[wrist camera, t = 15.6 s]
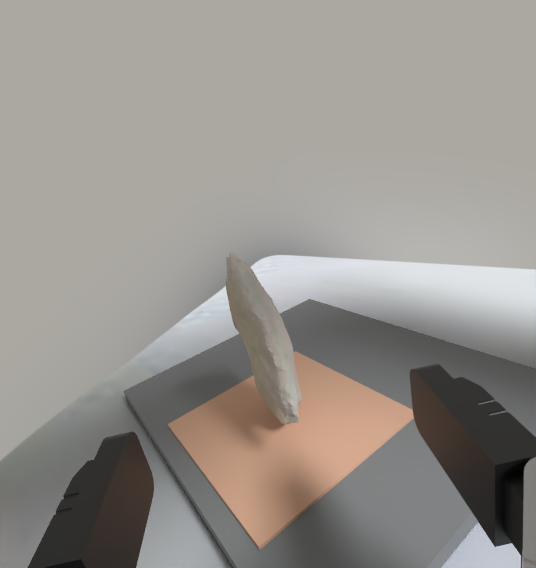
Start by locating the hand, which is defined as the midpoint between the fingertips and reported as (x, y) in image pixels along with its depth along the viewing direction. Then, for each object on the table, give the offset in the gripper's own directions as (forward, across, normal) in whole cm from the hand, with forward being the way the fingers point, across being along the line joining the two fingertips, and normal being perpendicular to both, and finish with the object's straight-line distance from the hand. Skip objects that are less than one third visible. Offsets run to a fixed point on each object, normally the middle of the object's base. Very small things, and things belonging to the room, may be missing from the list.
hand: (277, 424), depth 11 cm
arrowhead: (+8, 0, +7) cm, 11 cm away
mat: (+11, -2, +8) cm, 13 cm away
